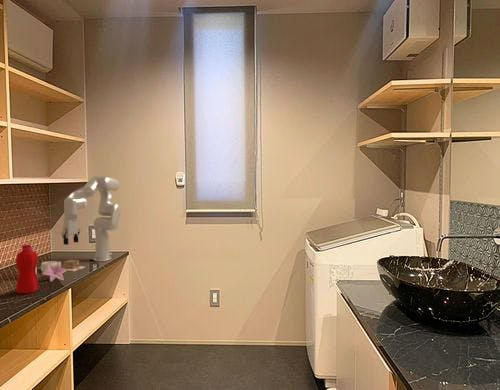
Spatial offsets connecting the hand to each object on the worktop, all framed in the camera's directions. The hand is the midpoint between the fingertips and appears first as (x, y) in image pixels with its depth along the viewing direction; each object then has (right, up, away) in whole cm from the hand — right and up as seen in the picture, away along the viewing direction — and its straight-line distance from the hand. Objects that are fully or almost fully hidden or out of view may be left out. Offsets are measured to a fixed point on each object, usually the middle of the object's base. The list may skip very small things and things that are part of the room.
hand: (71, 243), depth 260 cm
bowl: (-13, -18, -3) cm, 22 cm away
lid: (0, -17, +1) cm, 17 cm away
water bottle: (-1, -20, -48) cm, 52 cm away
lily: (+1, -19, -23) cm, 30 cm away
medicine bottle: (-18, -19, -17) cm, 32 cm away
